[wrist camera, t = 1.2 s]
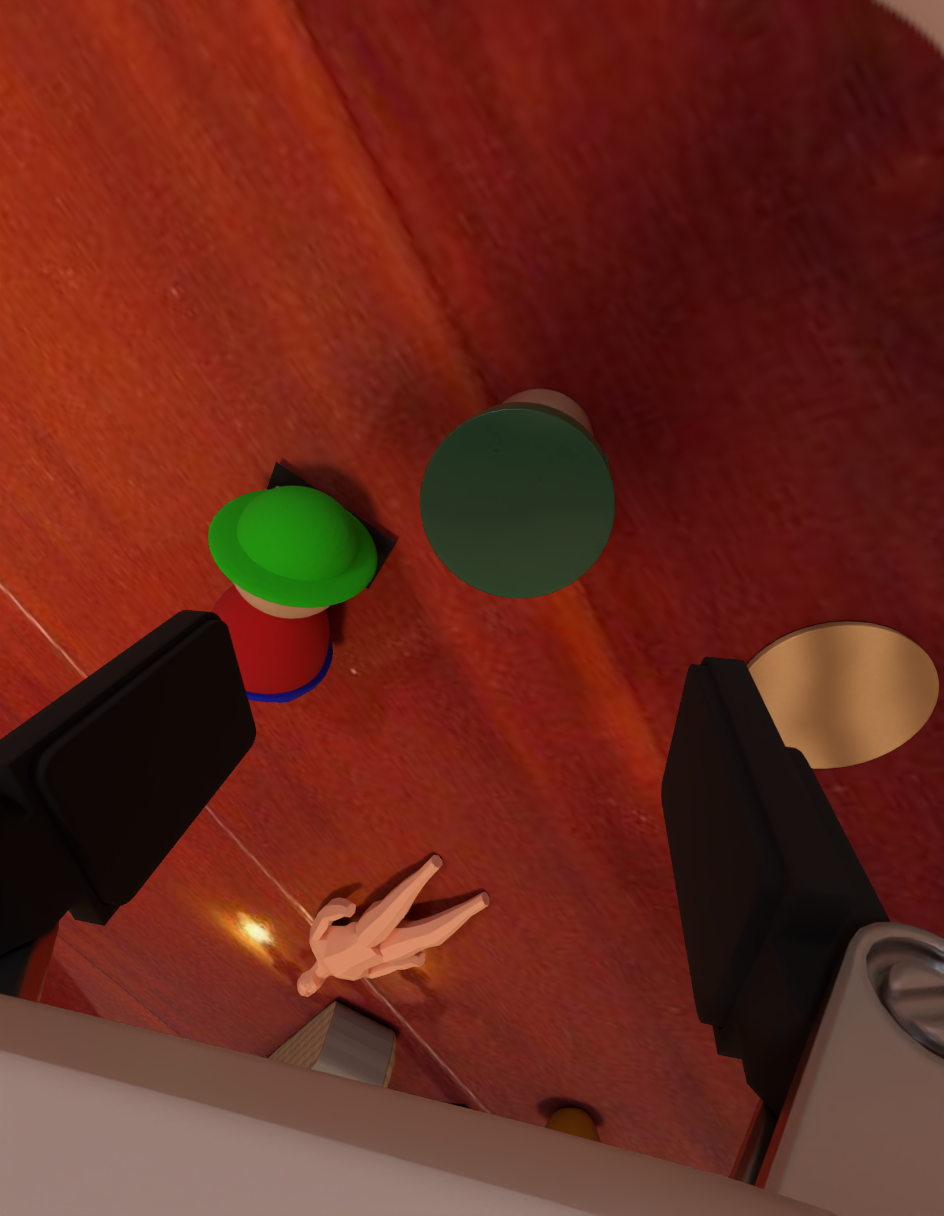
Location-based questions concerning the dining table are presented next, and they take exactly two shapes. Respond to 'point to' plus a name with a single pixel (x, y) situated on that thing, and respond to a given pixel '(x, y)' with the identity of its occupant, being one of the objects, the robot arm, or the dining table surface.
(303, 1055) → the ruin
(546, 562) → the jar lid
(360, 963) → the male figurine
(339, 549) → the toy figure
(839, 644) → the coaster
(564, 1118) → the apple
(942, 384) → the dining table surface
